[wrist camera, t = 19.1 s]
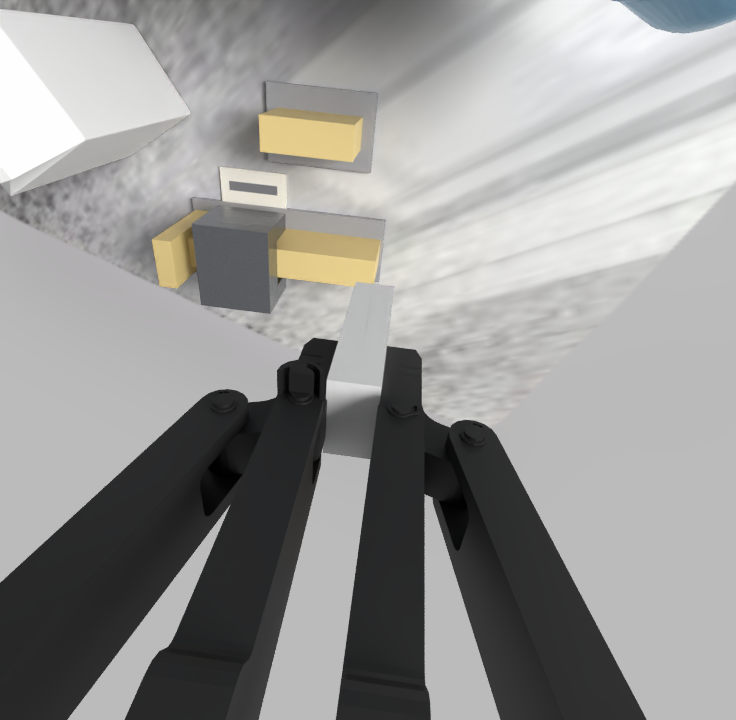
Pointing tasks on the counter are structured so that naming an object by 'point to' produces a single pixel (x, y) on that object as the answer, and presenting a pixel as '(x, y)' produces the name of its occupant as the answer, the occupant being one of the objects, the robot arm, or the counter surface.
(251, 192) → the label
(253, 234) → the grey block
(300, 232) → the rail
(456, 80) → the counter surface
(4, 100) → the milk carton
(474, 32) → the counter surface
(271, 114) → the stub
